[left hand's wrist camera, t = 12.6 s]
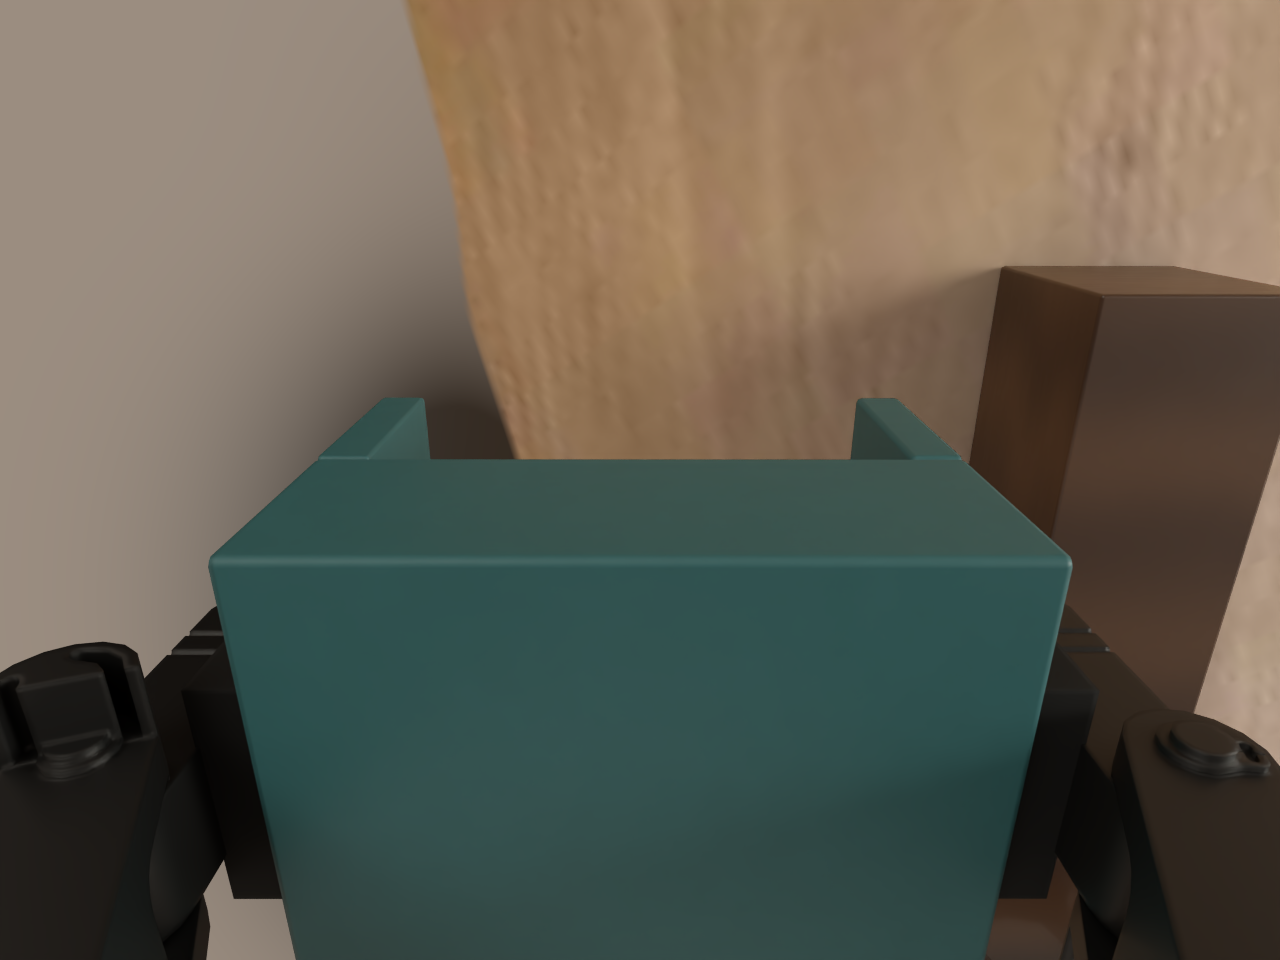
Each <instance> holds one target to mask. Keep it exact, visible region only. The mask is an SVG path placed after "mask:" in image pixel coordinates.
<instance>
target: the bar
mask: <svg viewBox="0 0 1280 960" xmlns="http://www.w3.org/2000/svg"><path fill="white" fill-rule="evenodd" d="M1279 439H1280V287H1279V286H1274V285H1269V284H1264V283H1258V282H1253V281H1248V280H1243V279H1237V278H1232V277H1227V276H1222V275H1216V274H1211V273H1206V272H1201V271H1195V270H1190V269H1185V268H1180V267H1174V266H1004V267H1002V269H1001V274H1000V280H999V286H998V292H997V298H996V304H995V310H994V316H993V323H992V329H991V335H990V341H989V347H988V353H987V359H986V366H985V372H984V378H983V384H982V390H981V396H980V402H979V408H978V415H977V421H976V427H975V433H974V439H973V445H972V451H971V457H970V464H969V466H971V467H972V468H973V469H974V470H975V471H976V472H977V473H978V474H979V475H980V476H982V477H983V478H984V479H985V480H986V481H987V482H988V483H989V484H990V485H992V486H993V487H994V488H995V489H996V490H997V491H998V492H999V493H1000V494H1001V495H1003V496H1004V497H1005V498H1006V499H1007V500H1008V501H1009V502H1010V503H1011V504H1012V505H1014V506H1015V507H1016V508H1017V509H1018V510H1019V511H1020V512H1021V513H1022V514H1024V515H1025V516H1026V517H1027V518H1028V519H1029V520H1030V521H1031V522H1032V523H1033V524H1035V525H1036V526H1037V527H1038V528H1039V529H1040V530H1041V531H1042V532H1043V533H1045V534H1046V535H1047V536H1048V537H1049V538H1050V539H1051V540H1052V541H1053V542H1054V543H1056V544H1057V545H1058V546H1059V547H1060V548H1061V549H1062V550H1063V551H1064V552H1065V553H1067V554H1068V555H1069V556H1070V557H1071V560H1072V566H1073V568H1072V573H1071V577H1070V582H1069V586H1068V591H1067V595H1066V600H1065V604H1066V605H1068V606H1070V607H1071V608H1072V609H1073V610H1074V611H1075V612H1076V613H1077V614H1078V615H1079V616H1080V618H1081V619H1082V620H1083V621H1084V622H1085V623H1086V624H1087V625H1088V626H1089V627H1090V628H1091V631H1092V633H1096V634H1097V635H1098V636H1099V637H1100V638H1101V639H1102V640H1103V641H1104V642H1105V643H1106V644H1107V645H1108V646H1109V647H1110V652H1115V653H1116V654H1117V655H1118V657H1119V658H1120V659H1121V660H1122V661H1123V662H1124V663H1125V664H1126V665H1127V666H1128V667H1129V668H1130V669H1131V670H1132V671H1133V672H1134V673H1135V674H1136V675H1137V676H1138V677H1139V678H1140V679H1141V680H1142V681H1143V682H1144V683H1145V684H1146V685H1147V686H1148V687H1149V688H1150V689H1151V690H1152V691H1153V692H1154V693H1155V694H1156V696H1157V697H1158V698H1159V699H1160V700H1161V701H1162V702H1163V703H1164V704H1165V705H1166V706H1167V707H1168V708H1169V709H1171V710H1180V711H1186V712H1190V713H1193V714H1194V711H1195V708H1196V705H1197V702H1198V698H1199V695H1200V692H1201V689H1202V686H1203V682H1204V679H1205V676H1206V673H1207V670H1208V666H1209V663H1210V660H1211V657H1212V654H1213V650H1214V647H1215V644H1216V641H1217V638H1218V634H1219V631H1220V628H1221V625H1222V622H1223V618H1224V615H1225V612H1226V609H1227V606H1228V602H1229V599H1230V596H1231V593H1232V590H1233V586H1234V583H1235V580H1236V577H1237V574H1238V570H1239V567H1240V564H1241V561H1242V558H1243V554H1244V551H1245V548H1246V545H1247V542H1248V538H1249V535H1250V532H1251V529H1252V526H1253V522H1254V519H1255V516H1256V513H1257V510H1258V506H1259V503H1260V500H1261V497H1262V494H1263V490H1264V487H1265V484H1266V481H1267V478H1268V474H1269V471H1270V468H1271V465H1272V462H1273V458H1274V455H1275V452H1276V449H1277V446H1278V442H1279ZM1077 891H1078V890H1077V888H1076V887H1075V885H1074V883H1073V882H1072V880H1071V878H1070V877H1069V875H1068V873H1067V872H1066V870H1065V868H1064V867H1063V865H1062V863H1061V862H1060V860H1059V858H1058V857H1057V860H1056V864H1055V868H1054V872H1053V876H1052V880H1051V884H1050V888H1049V892H1048V896H1047V899H998V902H997V906H996V911H995V915H994V920H993V924H992V929H991V933H990V938H989V942H988V946H987V951H986V954H987V955H988V956H989V958H990V959H991V960H1059V957H1060V953H1061V950H1062V946H1063V942H1064V939H1065V935H1066V932H1067V928H1068V924H1069V921H1070V917H1071V913H1072V910H1073V906H1074V902H1075V899H1076V895H1077Z"/></svg>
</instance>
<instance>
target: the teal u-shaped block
mask: <svg viewBox="0 0 1280 960" xmlns="http://www.w3.org/2000/svg"><path fill="white" fill-rule="evenodd" d="M208 568H209V573H210V577H211V581H212V586H213V590H214V595H215V599H216V604H217V608H218V613H219V617H220V622H221V626H222V631H223V635H224V640H225V644H226V649H227V653H228V658H229V662H230V667H231V671H232V676H233V680H234V685H235V689H236V694H237V698H238V702H239V707H240V711H241V716H242V720H243V725H244V729H245V734H246V738H247V743H248V747H249V752H250V756H251V761H252V765H253V770H254V774H255V779H256V783H257V788H258V792H259V797H260V801H261V806H262V810H263V815H264V819H265V823H266V828H267V832H268V837H269V841H270V846H271V850H272V855H273V859H274V864H275V868H276V873H277V877H278V882H279V886H280V891H281V895H282V900H283V904H284V909H285V913H286V918H287V922H288V927H289V931H290V935H291V940H292V944H293V949H294V953H295V958H296V960H985V955H986V951H987V946H988V942H989V938H990V933H991V929H992V924H993V920H994V915H995V911H996V906H997V902H998V898H999V893H1000V889H1001V884H1002V880H1003V875H1004V871H1005V866H1006V862H1007V858H1008V853H1009V849H1010V844H1011V840H1012V835H1013V831H1014V826H1015V822H1016V818H1017V813H1018V809H1019V804H1020V800H1021V795H1022V791H1023V786H1024V782H1025V777H1026V773H1027V769H1028V764H1029V760H1030V755H1031V751H1032V746H1033V742H1034V737H1035V733H1036V729H1037V724H1038V720H1039V715H1040V711H1041V706H1042V702H1043V697H1044V693H1045V689H1046V684H1047V680H1048V675H1049V671H1050V666H1051V662H1052V657H1053V653H1054V649H1055V644H1056V640H1057V635H1058V631H1059V626H1060V622H1061V617H1062V613H1063V609H1064V604H1065V600H1066V595H1067V591H1068V586H1069V582H1070V577H1071V573H1072V568H1073V566H1072V560H1071V557H1070V556H1069V555H1068V554H1067V553H1065V552H1064V551H1063V550H1062V549H1061V548H1060V547H1059V546H1058V545H1057V544H1056V543H1054V542H1053V541H1052V540H1051V539H1050V538H1049V537H1048V536H1047V535H1046V534H1045V533H1043V532H1042V531H1041V530H1040V529H1039V528H1038V527H1037V526H1036V525H1035V524H1033V523H1032V522H1031V521H1030V520H1029V519H1028V518H1027V517H1026V516H1025V515H1024V514H1022V513H1021V512H1020V511H1019V510H1018V509H1017V508H1016V507H1015V506H1014V505H1012V504H1011V503H1010V502H1009V501H1008V500H1007V499H1006V498H1005V497H1004V496H1003V495H1001V494H1000V493H999V492H998V491H997V490H996V489H995V488H994V487H993V486H992V485H990V484H989V483H988V482H987V481H986V480H985V479H984V478H983V477H982V476H980V475H979V474H978V473H977V472H976V471H975V470H974V469H973V468H972V467H971V466H969V465H968V464H967V463H966V462H964V461H962V459H961V456H960V455H958V454H957V453H956V452H955V451H954V450H953V449H952V448H951V447H950V446H948V445H947V444H946V443H945V442H944V441H943V440H942V439H941V438H940V437H939V436H937V435H936V434H935V433H934V432H933V431H932V430H931V429H930V428H929V427H927V426H926V425H925V424H924V423H923V422H922V421H921V420H920V419H919V418H917V417H916V416H915V415H914V414H913V413H912V412H911V411H910V410H909V409H907V408H906V407H905V406H904V405H903V404H902V403H901V402H900V401H899V400H897V399H895V398H862V399H859V400H858V401H857V403H856V412H855V422H854V432H853V441H852V451H851V460H434V459H433V460H431V459H430V452H429V442H428V432H427V422H426V412H425V403H424V400H423V399H422V398H384V399H382V400H381V401H380V402H379V403H378V404H376V405H375V406H374V407H373V408H372V409H371V410H370V411H369V412H368V413H367V414H365V415H364V416H363V417H362V418H361V419H360V420H359V421H358V422H356V423H355V424H354V425H353V426H352V427H351V428H350V429H349V430H348V431H347V432H345V433H344V434H343V435H342V436H341V437H340V438H339V439H338V440H336V441H335V442H334V443H333V444H332V445H331V446H330V447H329V448H328V449H326V450H325V451H324V452H323V453H322V454H321V455H320V456H319V458H318V461H316V462H314V463H313V464H312V465H311V466H310V467H309V468H308V469H307V470H306V471H304V472H303V473H302V474H301V475H300V476H299V477H298V478H297V479H296V480H295V481H293V482H292V483H291V484H290V485H289V486H288V487H287V488H286V489H285V490H283V491H282V492H281V493H280V494H279V495H278V496H277V497H276V498H275V499H274V500H272V501H271V502H270V503H269V504H268V505H267V506H266V507H265V508H264V509H263V510H261V511H260V512H259V513H258V514H257V515H256V516H255V517H254V518H253V519H252V520H250V521H249V522H248V523H247V524H246V525H245V526H244V527H243V528H242V529H240V530H239V531H238V532H237V533H236V534H235V535H234V536H233V537H232V538H231V539H229V540H228V541H227V542H226V543H225V544H224V545H223V546H222V547H221V548H220V549H218V550H217V551H216V552H215V553H214V554H213V555H212V556H211V557H210V560H209V566H208Z"/></svg>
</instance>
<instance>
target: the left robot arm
mask: <svg viewBox="0 0 1280 960" xmlns="http://www.w3.org/2000/svg"><path fill="white" fill-rule="evenodd" d="M1057 857H1058V858H1059V860H1060V862H1061V863H1062V865H1063V867H1064V868H1065V870H1066V872H1067V873H1068V875H1069V877H1070V878H1071V880H1072V882H1073V883H1074V885H1075V887H1076V888H1077V890H1078V891H1077V895H1076V899H1075V902H1074V906H1073V910H1072V913H1071V917H1070V921H1069V924H1068V928H1067V932H1066V935H1065V939H1064V942H1063V946H1062V950H1061V953H1060V957H1059V960H1280V766H1279V765H1278V764H1277V762H1276V761H1275V760H1274V759H1273V757H1272V756H1271V755H1270V754H1269V752H1268V751H1267V750H1266V749H1264V748H1263V747H1261V746H1260V745H1259V744H1257V743H1256V742H1254V741H1253V740H1252V739H1250V738H1249V737H1248V736H1246V735H1245V734H1243V733H1241V732H1239V731H1237V730H1235V729H1233V728H1231V727H1229V726H1227V725H1225V724H1222V723H1220V722H1218V721H1216V720H1214V719H1210V718H1207V717H1204V716H1200V715H1197V714H1193V713H1190V712H1186V711H1180V710H1171V709H1169V708H1168V707H1167V706H1166V705H1165V704H1164V703H1163V702H1162V701H1161V700H1160V699H1159V698H1158V697H1157V696H1156V694H1155V693H1154V692H1153V691H1152V690H1151V689H1150V688H1149V687H1148V686H1147V685H1146V684H1145V683H1144V682H1143V681H1142V680H1141V679H1140V678H1139V677H1138V676H1137V675H1136V674H1135V673H1134V672H1133V671H1132V670H1131V669H1130V668H1129V667H1128V666H1127V665H1126V664H1125V663H1124V662H1123V661H1122V660H1121V659H1120V658H1119V657H1118V655H1117V654H1116V653H1115V652H1110V647H1109V646H1108V645H1107V644H1106V643H1105V642H1104V641H1103V640H1102V639H1101V638H1100V637H1099V636H1098V635H1097V634H1096V633H1092V631H1091V628H1090V627H1089V626H1088V625H1087V624H1086V623H1085V622H1084V621H1083V620H1082V619H1081V618H1080V616H1079V615H1078V614H1077V613H1076V612H1075V611H1074V610H1073V609H1072V608H1071V607H1070V606H1068V605H1066V604H1064V609H1063V613H1062V617H1061V622H1060V626H1059V631H1058V635H1057V640H1056V644H1055V649H1054V653H1053V657H1052V662H1051V666H1050V671H1049V675H1048V680H1047V684H1046V689H1045V693H1044V697H1043V702H1042V706H1041V711H1040V715H1039V720H1038V724H1037V729H1036V733H1035V737H1034V742H1033V746H1032V751H1031V755H1030V760H1029V764H1028V769H1027V773H1026V777H1025V782H1024V786H1023V791H1022V795H1021V800H1020V804H1019V809H1018V813H1017V818H1016V822H1015V826H1014V831H1013V835H1012V840H1011V844H1010V849H1009V853H1008V858H1007V862H1006V866H1005V871H1004V875H1003V880H1002V884H1001V889H1000V893H999V898H998V899H1047V896H1048V892H1049V888H1050V884H1051V880H1052V876H1053V872H1054V868H1055V864H1056V860H1057ZM223 860H224V862H225V866H226V870H227V874H228V878H229V882H230V885H231V889H232V893H233V897H234V899H282V895H281V891H280V886H279V882H278V877H277V873H276V868H275V864H274V859H273V855H272V850H271V846H270V841H269V837H268V832H267V828H266V823H265V819H264V815H263V810H262V806H261V801H260V797H259V792H258V788H257V783H256V779H255V774H254V770H253V765H252V761H251V756H250V752H249V747H248V743H247V738H246V734H245V729H244V725H243V720H242V716H241V711H240V707H239V702H238V698H237V694H236V689H235V685H234V680H233V676H232V671H231V667H230V662H229V658H228V653H227V649H226V644H225V640H224V635H223V631H222V626H221V622H220V617H219V613H218V608H217V606H216V607H214V608H213V609H211V610H210V611H209V612H208V613H207V614H206V615H205V616H204V617H203V618H202V619H201V621H200V622H199V623H198V624H197V625H196V626H195V627H194V628H193V629H192V630H191V631H190V635H189V636H185V637H184V638H183V639H182V640H181V641H180V642H179V643H178V644H177V645H176V646H175V647H174V648H173V649H172V654H171V655H167V656H166V657H165V658H164V659H163V660H162V661H161V662H160V663H159V664H158V665H157V666H156V667H155V668H154V669H153V670H152V671H151V672H150V673H149V674H148V675H147V676H146V677H145V678H144V676H143V672H142V668H141V665H140V661H139V657H138V654H137V653H136V652H135V651H133V650H132V649H130V648H129V647H127V646H126V645H123V644H115V643H108V642H95V643H84V644H74V645H70V646H66V647H63V648H59V649H55V650H51V651H47V652H43V653H41V654H38V655H36V656H33V657H31V658H29V659H26V660H24V661H21V662H19V663H16V664H14V665H12V666H10V667H9V668H7V669H6V670H4V671H2V672H1V673H0V960H206V957H207V949H208V941H209V932H210V922H209V916H208V910H207V906H206V902H205V899H204V895H203V893H204V892H205V890H206V888H207V887H208V885H209V883H210V882H211V880H212V878H213V877H214V875H215V873H216V872H217V870H218V868H219V867H220V865H221V863H222V862H223Z"/></svg>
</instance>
